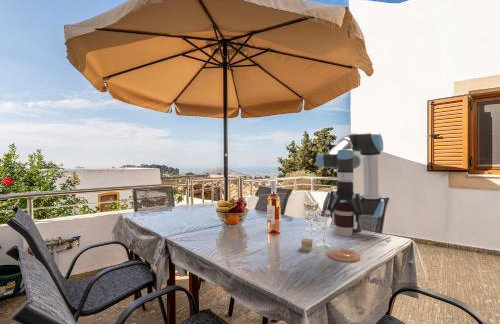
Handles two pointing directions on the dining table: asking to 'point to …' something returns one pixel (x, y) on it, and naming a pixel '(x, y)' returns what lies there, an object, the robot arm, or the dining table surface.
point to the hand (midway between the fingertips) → (344, 226)
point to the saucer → (344, 255)
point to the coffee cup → (344, 219)
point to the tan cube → (306, 244)
